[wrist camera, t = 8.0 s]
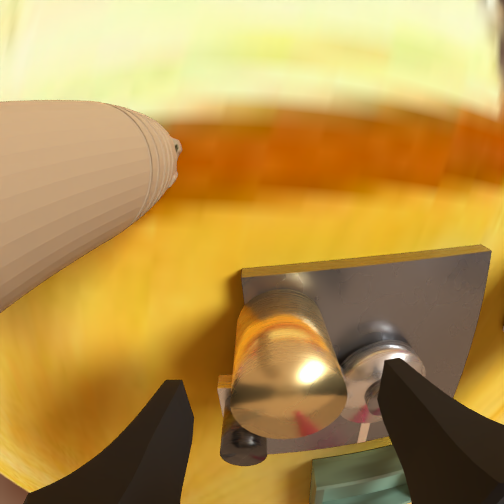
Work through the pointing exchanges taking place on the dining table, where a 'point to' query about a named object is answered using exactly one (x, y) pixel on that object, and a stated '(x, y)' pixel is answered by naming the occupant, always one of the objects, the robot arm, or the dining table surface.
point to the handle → (73, 183)
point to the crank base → (386, 316)
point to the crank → (356, 410)
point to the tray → (359, 479)
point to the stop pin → (285, 368)
